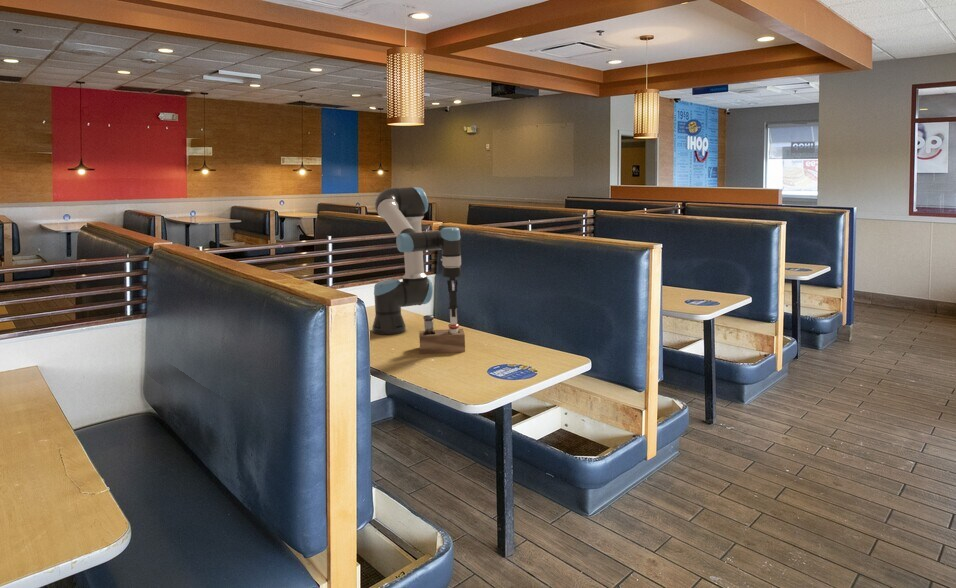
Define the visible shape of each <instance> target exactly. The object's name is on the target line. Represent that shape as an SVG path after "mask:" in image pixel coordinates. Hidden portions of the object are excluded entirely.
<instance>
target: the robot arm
mask: <svg viewBox="0 0 956 588" xmlns="http://www.w3.org/2000/svg"><path fill="white" fill-rule="evenodd" d="M374 204H375V205H374V207H375V211H376V213H377V214H378V216H379V217H380V218H381V219H383V220H385V222H386V224H388V226H389V227H390V229H391V230H392V232H393V233H394V235H395V238H396V239H395V240H396V242H395V243H396V247H397V251H399V252H400V253H403V255H404V258H403V259H404V271H405V273H404V275H403V276H402V281H400V279H398V278H390V279H389V278H388V279H384V280H380V281H378V282H376V283H375V284H374V287H373V288H374V290H373V295H374V309H375V310H374V312H375V314H374V318H373V319H374V320H373V324H372V327H371V328H372V333H374V334H376V335H396V334H400V333H405V331H406V323H405V321H404V318H403V315H402V308H404V307H412V306H422V305H427V304H428V303H430V301H431V300H432V297H433V291H434V287H433V286H434V285H433V283H432V282H433V281H432V280H431V279H429V277H428V275H427V274H426V273H425V269H424V267H425V266H424V251H425V252H427V251H436V250H437V251H440V250H441V258H440V261H441V262H442V263H441V264H442V276H443V278H448V280H447V282H446V283H447V290H448V297H449V307H447V308H448V310H449V319H450V321H449V322H450V323H449V324H451V325H455V324H458V311H457V310H458V307H459V306H458V305H457V292H458V279H456V278H459V277H461V276H462V255H461V253H462V251H461V250H462V249H461V232H460V228H459V227H456V226H455V227H450V226H449V227H443V228H441V229H439V230H433V231H422V220H423V219H424V217H425V214H426V213H427V212H428V210H429V201H428V197H427V194H426V192H425V190H424V189H423V188H421V187H418V186H417V187H416V186H414V187H413V186H409V187H390V188H386V189H383V190H382V191H381V192H380V193H379V194H378V195H377V198H376V199H375V203H374Z"/></svg>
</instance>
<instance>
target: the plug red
mask: <svg viewBox="0 0 956 588" xmlns="http://www.w3.org/2000/svg"><path fill="white" fill-rule="evenodd" d="M459 327H460V324H459V323H457V324H455V325H451V324H450V323H449V324H448V328H449V332H450V334H454V333H458V329H459Z"/></svg>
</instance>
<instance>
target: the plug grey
mask: <svg viewBox="0 0 956 588" xmlns="http://www.w3.org/2000/svg"><path fill="white" fill-rule="evenodd" d="M434 318H435V316H434V315H433V314H431V315H430V314H427V315H423V321H424V322H423V323H424V331H425V335H432V334H434V330H435V329H434Z"/></svg>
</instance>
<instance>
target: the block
mask: <svg viewBox="0 0 956 588" xmlns="http://www.w3.org/2000/svg"><path fill="white" fill-rule="evenodd" d="M418 332H419V333H418V334H419V354H420V355H423V354H424V355H425V354H440V353H441V354H442V353H443V354H444V353H461V352H466V340H465V339H466V338H465V337H466V336H465V335H466V334H465V332H464V328H458V333H454V334H450V332H449V329H434V334H432V335H425V330H418Z"/></svg>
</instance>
